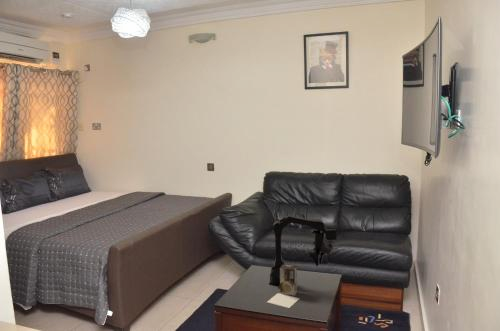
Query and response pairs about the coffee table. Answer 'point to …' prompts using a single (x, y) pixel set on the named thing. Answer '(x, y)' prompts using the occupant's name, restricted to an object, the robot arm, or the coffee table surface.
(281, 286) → the coffee box
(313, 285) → the coffee table surface
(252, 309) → the coffee table surface
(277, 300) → the mat
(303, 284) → the coffee table surface
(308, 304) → the coffee table surface
